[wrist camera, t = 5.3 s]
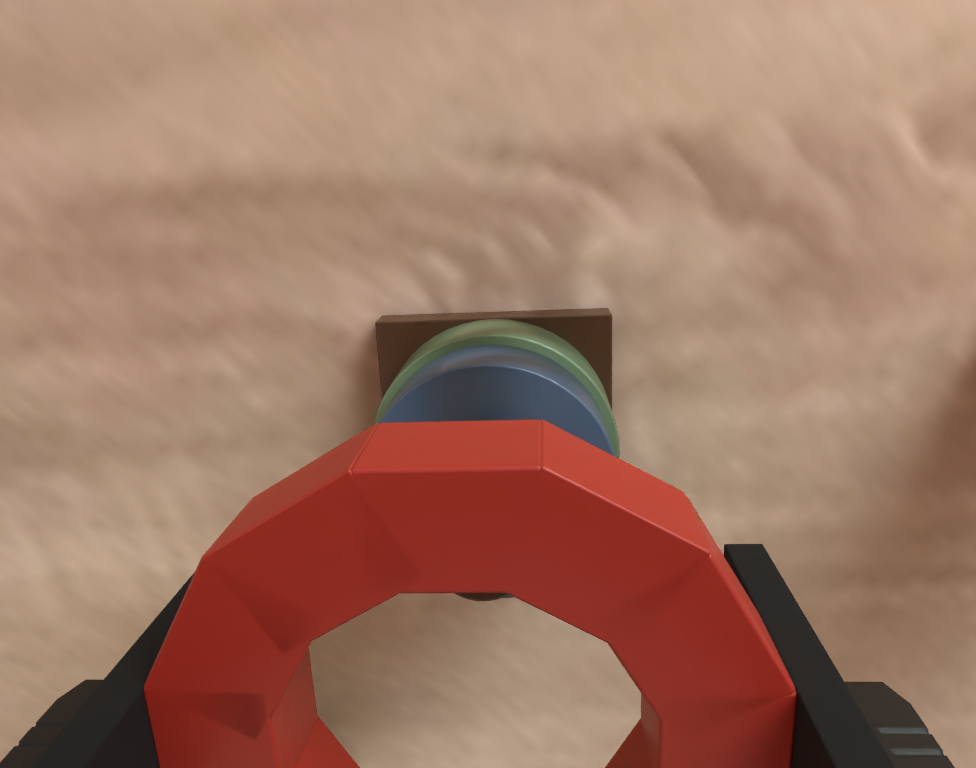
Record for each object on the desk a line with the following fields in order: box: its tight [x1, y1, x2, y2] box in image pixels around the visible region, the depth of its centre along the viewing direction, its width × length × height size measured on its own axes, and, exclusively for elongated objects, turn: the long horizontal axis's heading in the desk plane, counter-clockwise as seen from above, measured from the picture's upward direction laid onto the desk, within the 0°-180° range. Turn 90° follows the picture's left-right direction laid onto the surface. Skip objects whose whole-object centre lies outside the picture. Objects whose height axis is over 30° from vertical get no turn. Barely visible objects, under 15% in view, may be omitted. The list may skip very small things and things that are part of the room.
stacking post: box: [373, 308, 620, 601], centre depth 22 cm, size 8×8×10 cm
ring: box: [143, 420, 797, 768], centre depth 12 cm, size 10×10×2 cm
